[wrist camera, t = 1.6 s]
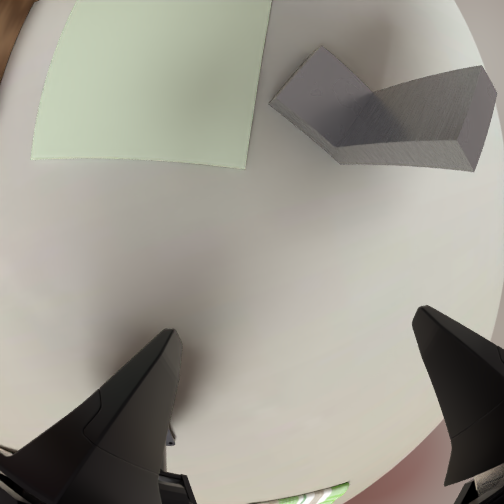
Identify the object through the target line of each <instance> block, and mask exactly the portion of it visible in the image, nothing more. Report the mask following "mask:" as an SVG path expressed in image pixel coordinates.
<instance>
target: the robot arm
mask: <svg viewBox="0 0 504 504" xmlns="http://www.w3.org/2000/svg"><path fill="white" fill-rule="evenodd" d="M412 327H413V331H414V334H415V337H416V340H417V343H418V347H419V350H420V353H421V356H422V359H423V362H424V364H425V367H426V369H427V372H428V374H429V377H430V379H431V382H432V385H433V387H434V390H435V393H436V396H437V398H438V401H439V404H440V407H441V410H442V413H443V416H444V419H445V423H446V426H447V429H448V433H449V436H450V439H451V445H452V451H451V457H450V461H449V465H448V470H447V474H446V478H445V482H444V486H448V485H451V484H454V483H457V482H460V481H463V480H466V479H469V478H471V477H474V479H472V480H471V481H469V482H467V483H465V485H464V486H463V488H462V490H461V492H460V494H459V496H458V498H457V499H456V501H455V503H454V504H504V349H502V348H501V347H499V346H496V345H495V344H494V343H492V342H490V341H489V340H487V339H485V338H484V337H482V336H480V335H479V334H477V333H475V332H474V331H472V330H470V329H469V328H467V327H465V326H463V325H462V324H460V323H458V322H457V321H455V320H453V319H451V318H450V317H448V316H446V315H444V314H443V313H441V312H439V311H437V310H436V309H434V308H432V307H430V306H428V305H425V306H421V307H419V308H418V310H417V312H416V314H415V316H414V318H413V321H412ZM181 356H182V342H181V340H180V338H179V335H178V333H177V331H176V330H175V329H164V330H163V331H161V332H160V333H159V334H158V335H157V336H156V337H155V338H154V339H153V340H152V341H151V342H149V343H148V344H147V345H146V346H145V347H144V348H143V349H142V350H141V351H140V352H138V353H137V354H136V355H135V356H134V357H133V358H132V359H131V360H130V361H129V362H128V363H126V364H125V365H124V366H123V367H122V368H121V369H120V370H119V371H118V372H117V373H116V374H114V375H113V376H112V377H111V378H110V379H109V380H108V381H107V382H106V383H105V384H104V385H102V386H101V387H100V389H98V390H97V391H95V392H94V393H93V394H92V395H91V396H90V397H89V398H88V399H86V400H85V401H84V402H83V403H82V404H81V405H79V406H78V407H77V408H76V409H74V410H73V411H72V412H70V413H69V414H68V415H66V416H65V417H64V418H62V419H61V420H60V421H58V422H57V423H56V424H54V425H53V426H52V427H50V428H49V429H47V430H46V431H45V432H43V433H42V434H41V435H39V436H38V437H37V438H35V439H34V440H32V441H31V442H30V443H28V444H27V445H25V446H24V447H23V448H21V449H20V450H19V451H17V452H16V453H14V454H13V455H11V456H10V455H8V454H6V453H5V452H3V451H1V450H0V504H197V503H196V500H195V497H194V495H193V492H192V489H191V486H190V483H189V480H188V477H187V475H183V474H181V475H179V474H174V473H169V472H167V466H166V446H172V445H175V440H174V438H173V435H172V433H171V431H170V429H169V423H170V418H171V414H172V409H173V405H174V400H175V396H176V392H177V387H178V382H179V375H180V365H181Z"/></svg>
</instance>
